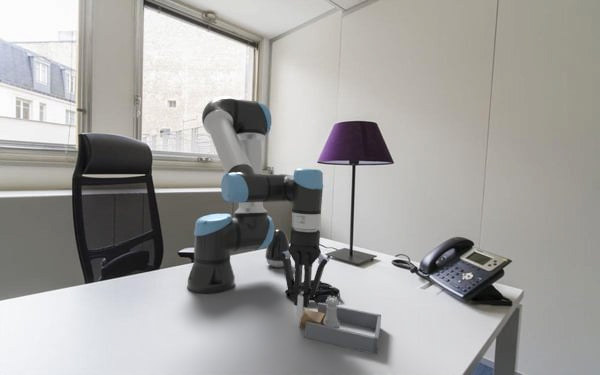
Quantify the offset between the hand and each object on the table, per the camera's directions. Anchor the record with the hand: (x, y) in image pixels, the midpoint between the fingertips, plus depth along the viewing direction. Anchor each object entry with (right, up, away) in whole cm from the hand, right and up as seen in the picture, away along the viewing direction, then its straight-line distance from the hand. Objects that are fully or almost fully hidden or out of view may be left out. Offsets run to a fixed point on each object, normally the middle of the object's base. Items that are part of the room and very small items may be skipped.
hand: (300, 317), depth 77 cm
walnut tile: (+3, -2, -1) cm, 4 cm away
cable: (+3, -1, +18) cm, 18 cm away
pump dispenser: (-10, +2, +45) cm, 46 cm away
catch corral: (+11, -2, -3) cm, 12 cm away
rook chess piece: (+8, -2, -2) cm, 8 cm away
